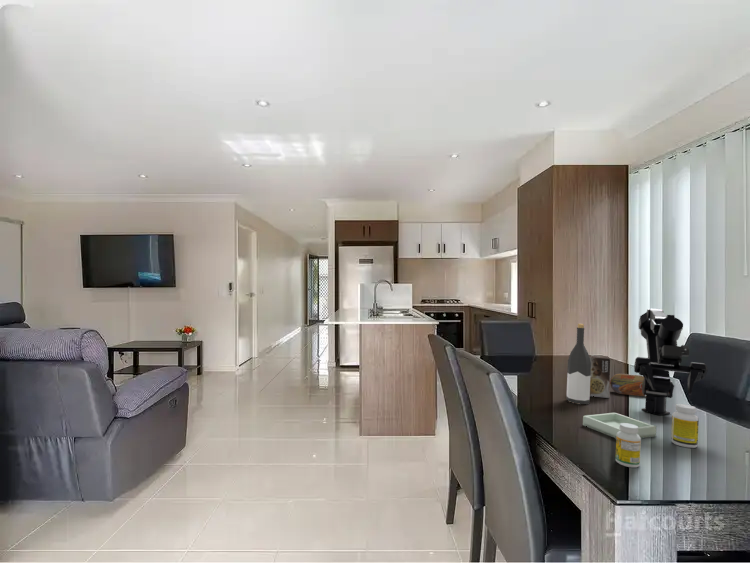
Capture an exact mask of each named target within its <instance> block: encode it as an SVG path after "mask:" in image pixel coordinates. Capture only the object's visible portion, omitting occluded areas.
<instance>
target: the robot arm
mask: <svg viewBox="0 0 750 563" xmlns="http://www.w3.org/2000/svg"><path fill="white" fill-rule="evenodd" d="M683 328H684V323H683V321H682V320H680V319H679V318H677V317H675V314H666V313H664V309H660V308H648V309H646V312H645V313H643V314H641V315H640V316H639V320H638V330H639V331H640V335H641V337H642V338H644V340H645V341H646V351H647V357H641V356H637V357H636V358H635V360H634V364H633V365H634V366H633V371H634V373H636V374H638V375H640V376H643V377H644V380H643V384H642V393H643V394H644V395H645V407H642V408H641V411H643V412H646V413H650V414H653V415H657V416H663V415H664V416H665V415H669V414H670V415H671V411H667V398H668V399H672V398H673V396H674V395H673V393H674V390H675V389H674V388H675V385H674V383H673V381H672V380H671V376H670V372H675V373H686V374H687V376H688V377H687V391H688V392H687V393H688V395H689V396H691V395H692V391H693V388H694V385H695V383H696V382H700V381H701V380H705V378H706V376H707V373H708V365H707V364H705V363H703V362H693V361H691V362H690V364H689V365H681V363H682V361H683V360H682V358H683V357H686V358H687V357H689V356H690V348H689V345H686V344H685V345H684V344H682V345H679V346H678V342H677V341H678V340H679V338H680V336H681V334H682V331H683ZM646 390H648V391H646Z"/></svg>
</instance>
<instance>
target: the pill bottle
mask: <svg viewBox="0 0 750 563" xmlns="http://www.w3.org/2000/svg"><path fill="white" fill-rule="evenodd" d="M675 410H676V411H673V412H672V414H671V436H670V437H671V443H673V444H674V445H676V446H680V447H682V448H688V449H695V448H697V447H698V445H699V444H698V443H699V416H698V415H696V412H697V408H696V406H692V405H690V404H685V403H684V404H683V403H676V404H675Z"/></svg>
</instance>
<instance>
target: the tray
mask: <svg viewBox="0 0 750 563" xmlns="http://www.w3.org/2000/svg"><path fill="white" fill-rule="evenodd" d="M620 423H629V424H633V425H636V426H638V433H637V434H638V435H639V436H640V438H641V439H646V438H653V437H654V438H655V437H657V426H656V425H653V424H651V423H647V422H645V421H641V420H638V419H635V418H632V417H629V416H627V415H623V414H620V413H617V412H608V413H599V414H586V415H583V416H582V426H584V427H586V426H587V428H589V429H591V430H594V431H597V432H599V433H601V434H604V435H606V436H609V437H612V438H613V439H616V435H617V432H619V431H621V430H620Z"/></svg>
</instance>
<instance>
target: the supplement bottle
mask: <svg viewBox="0 0 750 563" xmlns="http://www.w3.org/2000/svg"><path fill="white" fill-rule="evenodd" d="M620 430H621V431H619V432H617V435H616V438H615V462H616V463H618V464H619V465H621V466H624V467H628V468H638V467H640V465H641V446H642V444H641V443H642V438H640V436H639V435H638V434H637V433H638V426H636V425H633V424H629V423H620Z"/></svg>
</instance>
